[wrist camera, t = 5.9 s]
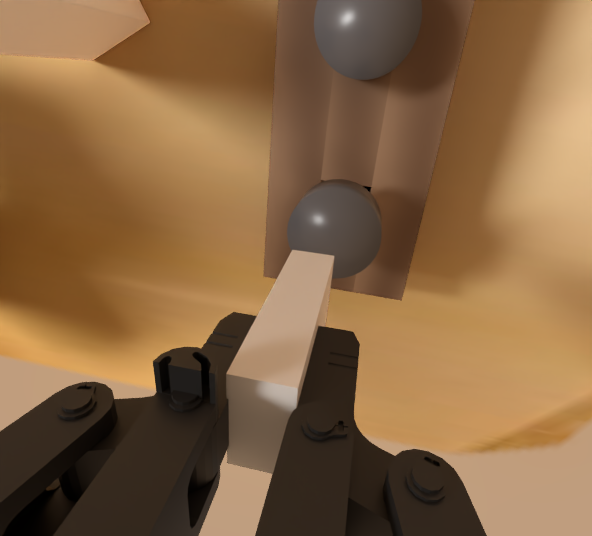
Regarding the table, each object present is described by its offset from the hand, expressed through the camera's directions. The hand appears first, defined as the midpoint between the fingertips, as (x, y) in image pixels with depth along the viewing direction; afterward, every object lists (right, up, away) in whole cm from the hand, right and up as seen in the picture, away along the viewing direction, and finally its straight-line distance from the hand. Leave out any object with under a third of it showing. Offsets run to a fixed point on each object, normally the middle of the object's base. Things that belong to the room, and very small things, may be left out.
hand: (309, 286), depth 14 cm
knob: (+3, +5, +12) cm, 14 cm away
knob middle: (+4, +15, +10) cm, 19 cm away
